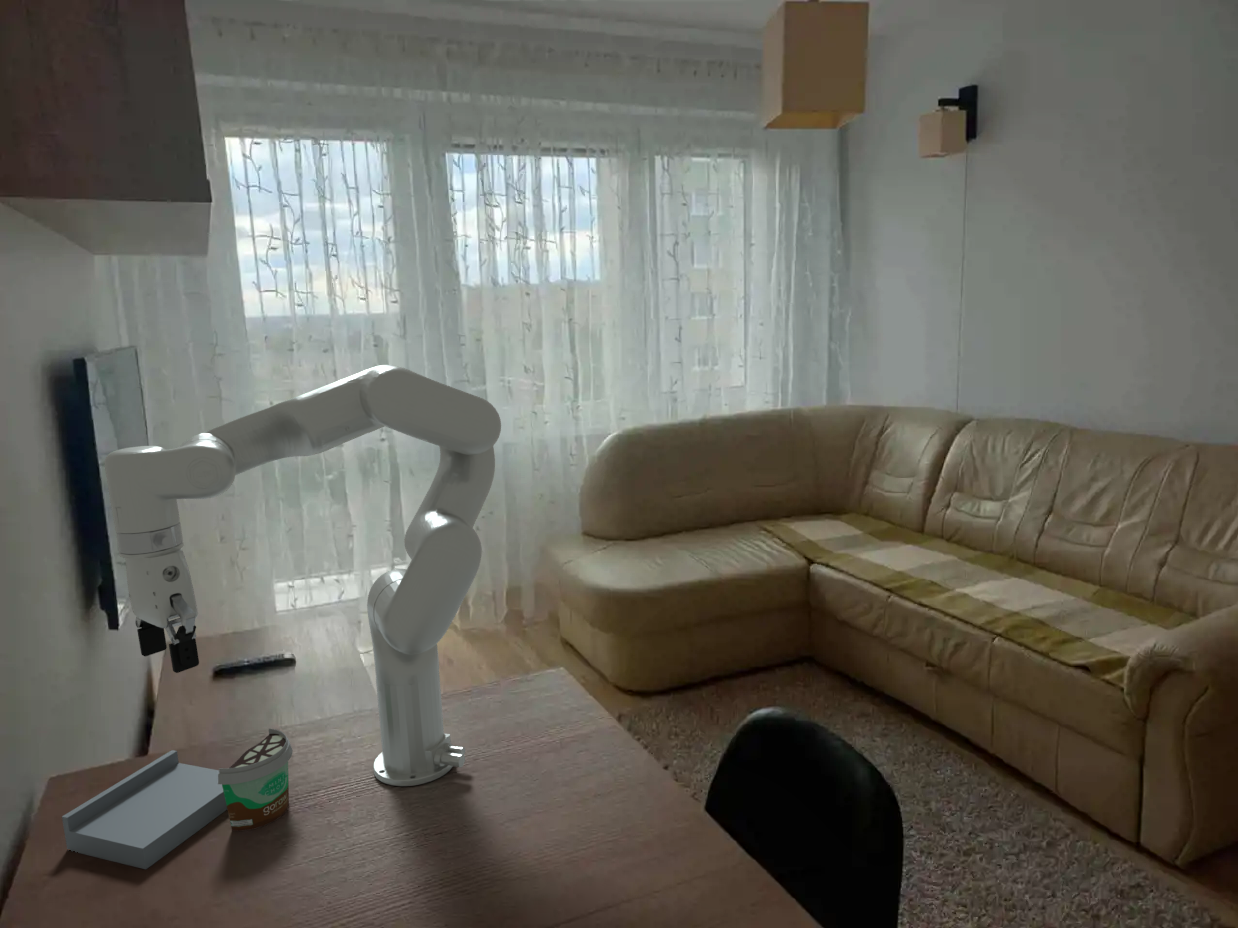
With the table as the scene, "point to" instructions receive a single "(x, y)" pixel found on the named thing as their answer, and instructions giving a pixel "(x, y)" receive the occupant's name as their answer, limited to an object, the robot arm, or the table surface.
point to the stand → (146, 813)
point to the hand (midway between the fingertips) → (170, 660)
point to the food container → (258, 783)
